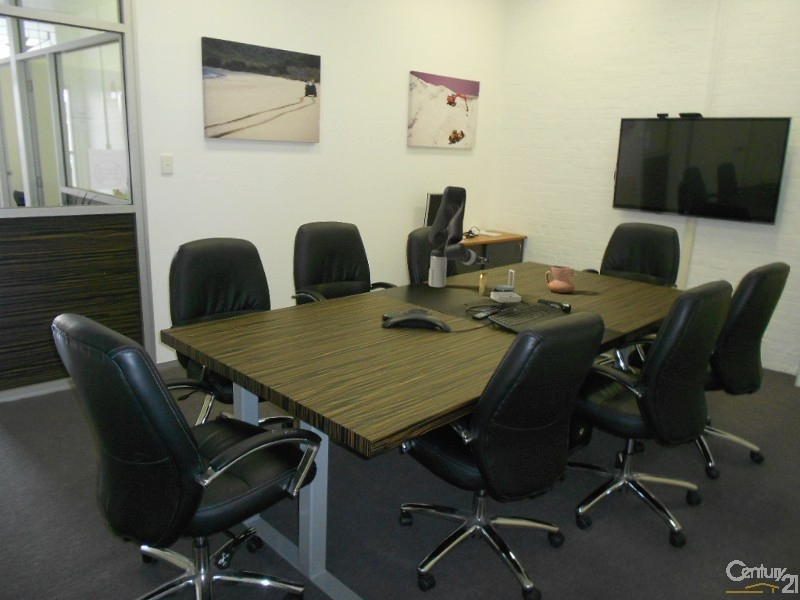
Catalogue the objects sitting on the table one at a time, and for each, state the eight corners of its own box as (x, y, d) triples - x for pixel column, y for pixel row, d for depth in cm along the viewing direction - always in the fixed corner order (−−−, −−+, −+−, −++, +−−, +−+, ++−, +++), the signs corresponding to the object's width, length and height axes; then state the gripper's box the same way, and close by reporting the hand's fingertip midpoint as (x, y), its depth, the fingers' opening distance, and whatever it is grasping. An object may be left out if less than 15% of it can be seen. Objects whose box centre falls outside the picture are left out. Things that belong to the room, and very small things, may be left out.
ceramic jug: (580, 292, 332) (582, 267, 329) (570, 295, 320) (572, 269, 318) (549, 288, 342) (551, 263, 340) (539, 291, 331) (541, 266, 328)
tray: (498, 302, 300) (498, 297, 299) (490, 297, 311) (490, 292, 311) (520, 302, 302) (521, 296, 301) (512, 296, 314) (512, 291, 313)
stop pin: (479, 296, 313) (480, 272, 310) (476, 294, 317) (478, 270, 314) (487, 296, 314) (489, 272, 311) (484, 294, 318) (486, 270, 315)
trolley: (497, 296, 313) (499, 271, 310) (492, 293, 320) (494, 269, 317) (514, 296, 315) (516, 271, 312) (509, 293, 322) (511, 269, 319)
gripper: (482, 249, 288) (493, 255, 303) (455, 249, 295) (467, 255, 309) (481, 265, 288) (491, 270, 302) (454, 264, 294) (465, 269, 309)
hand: (479, 262), depth 306 cm, fingers open, 8 cm apart
